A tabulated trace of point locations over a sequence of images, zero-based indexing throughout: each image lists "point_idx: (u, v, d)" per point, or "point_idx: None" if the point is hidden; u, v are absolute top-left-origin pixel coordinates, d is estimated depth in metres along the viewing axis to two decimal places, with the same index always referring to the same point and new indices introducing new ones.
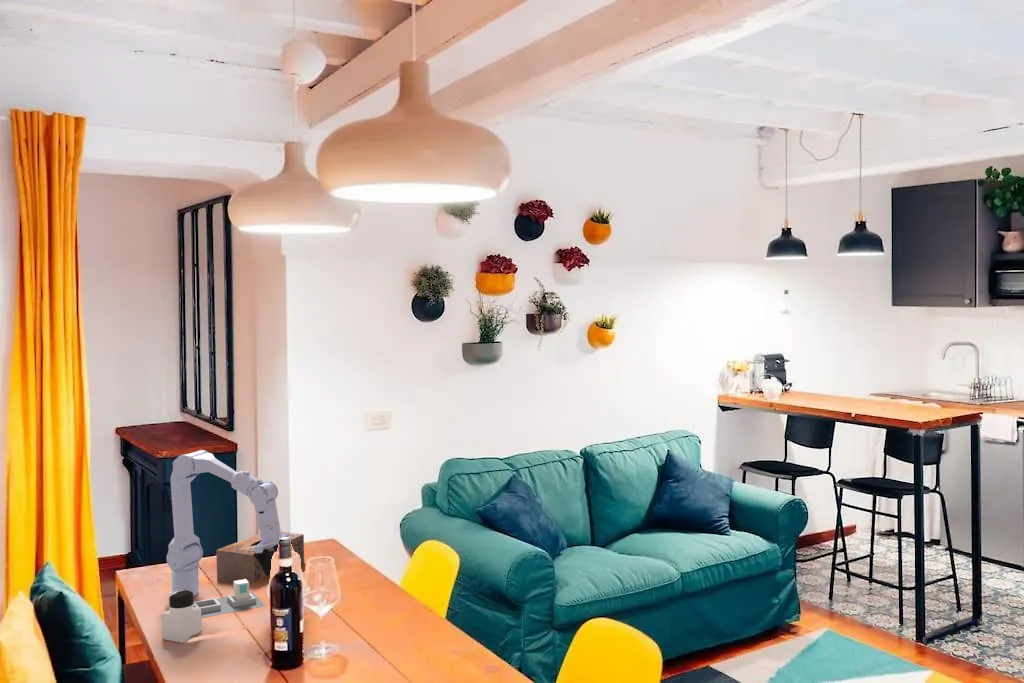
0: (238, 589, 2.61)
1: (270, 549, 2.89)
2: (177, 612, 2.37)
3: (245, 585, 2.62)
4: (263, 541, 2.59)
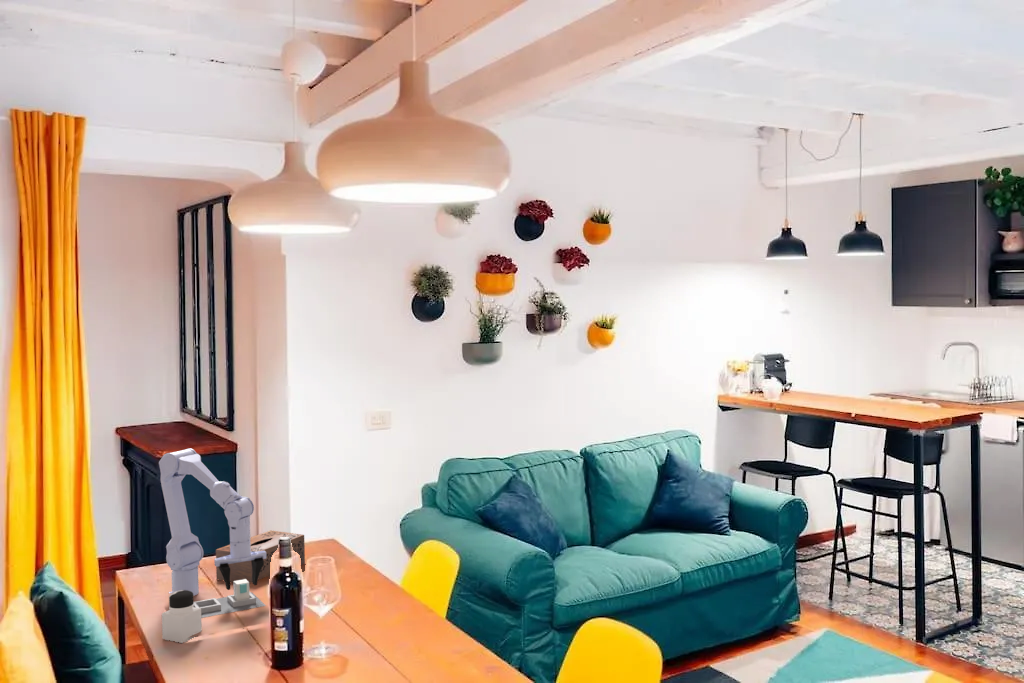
0: (238, 589, 2.61)
1: (269, 549, 2.89)
2: (177, 612, 2.37)
3: (245, 585, 2.62)
4: None
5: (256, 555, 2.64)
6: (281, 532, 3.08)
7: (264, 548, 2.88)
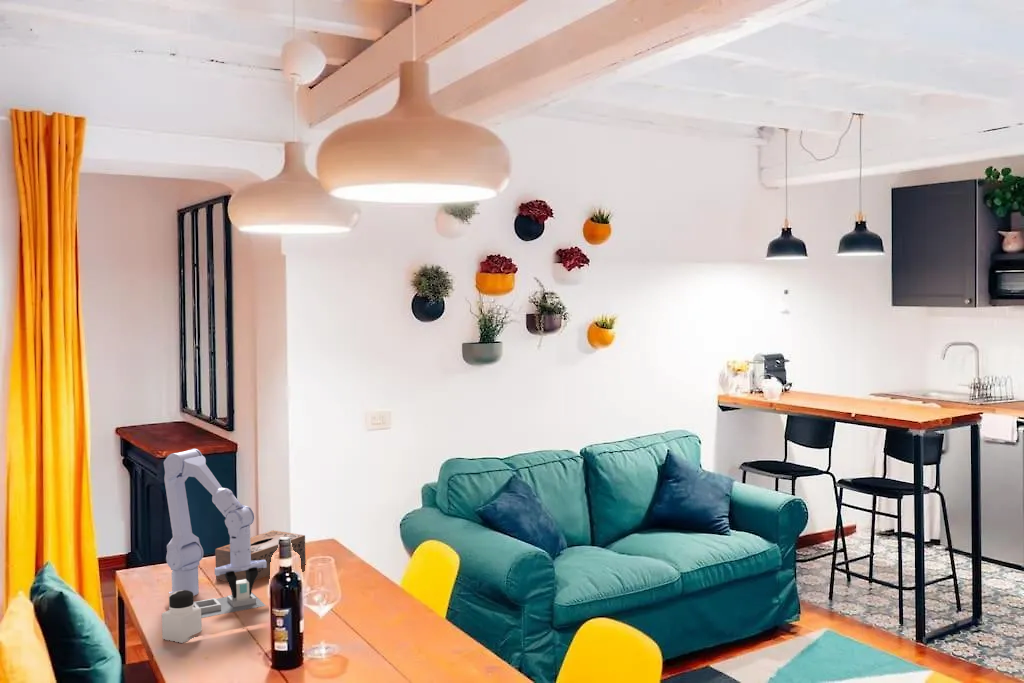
0: (238, 589, 2.61)
1: (268, 549, 2.89)
2: (177, 612, 2.37)
3: (245, 585, 2.62)
4: (230, 564, 2.63)
5: (256, 564, 2.64)
6: (282, 532, 3.08)
7: (263, 548, 2.88)
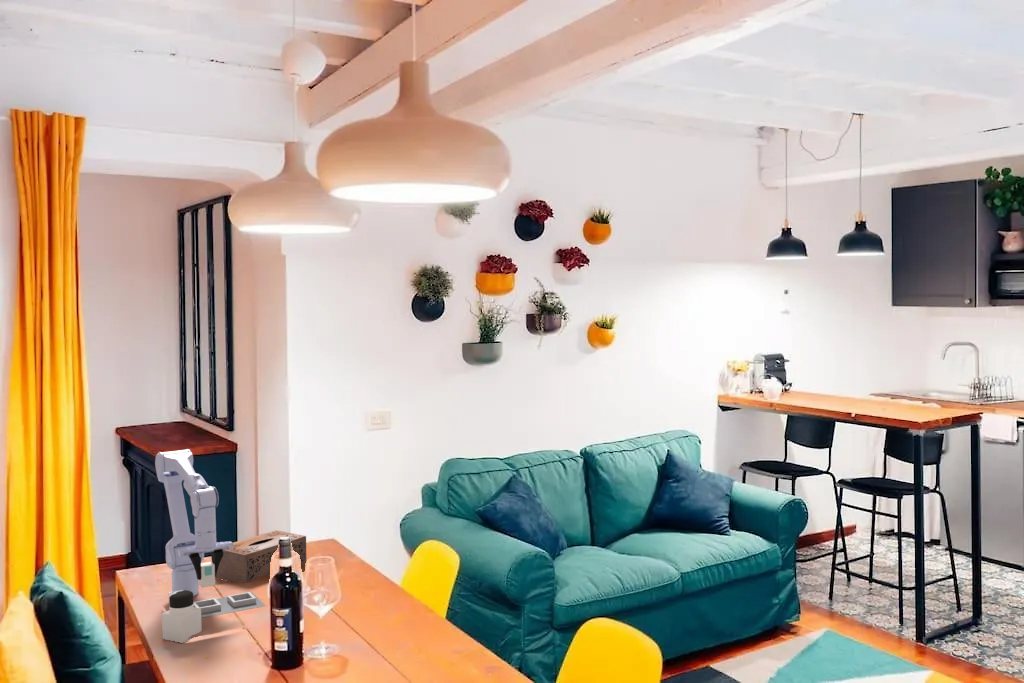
0: (203, 572, 2.56)
1: (266, 550, 2.89)
2: (177, 612, 2.37)
3: (210, 567, 2.56)
4: (195, 545, 2.57)
5: (222, 546, 2.59)
6: (285, 532, 3.07)
7: (261, 548, 2.88)
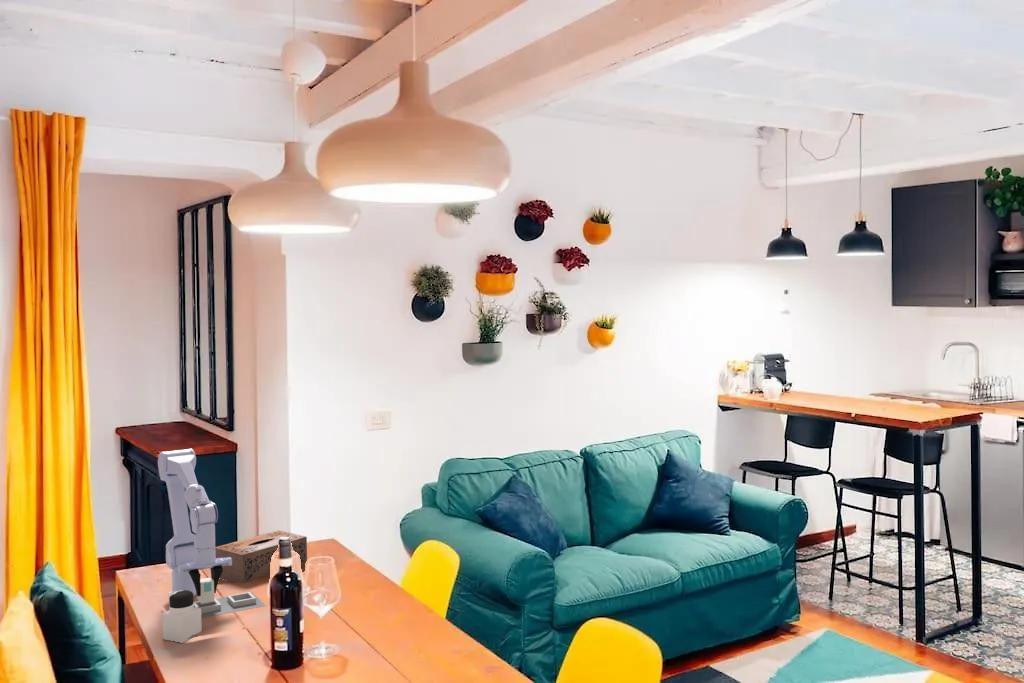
0: (202, 588, 2.56)
1: (264, 550, 2.88)
2: (177, 612, 2.37)
3: (209, 584, 2.56)
4: (194, 561, 2.57)
5: (221, 562, 2.59)
6: (286, 533, 3.07)
7: (259, 548, 2.88)
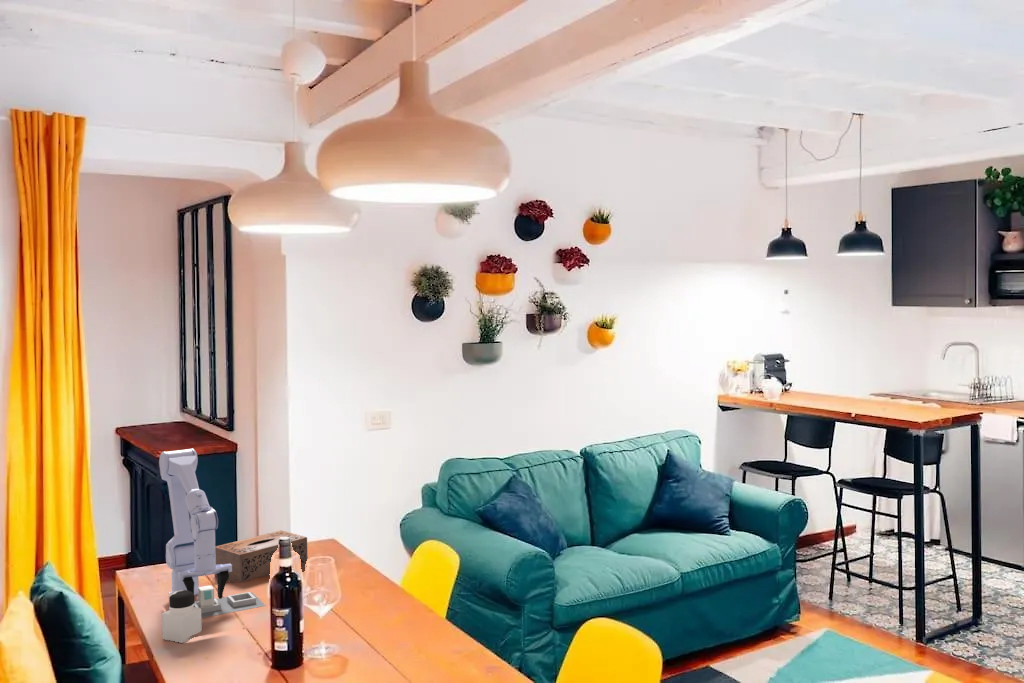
0: (202, 596, 2.56)
1: (263, 550, 2.88)
2: (177, 612, 2.37)
3: (210, 591, 2.56)
4: (194, 568, 2.57)
5: (221, 568, 2.59)
6: (288, 533, 3.07)
7: (257, 549, 2.88)
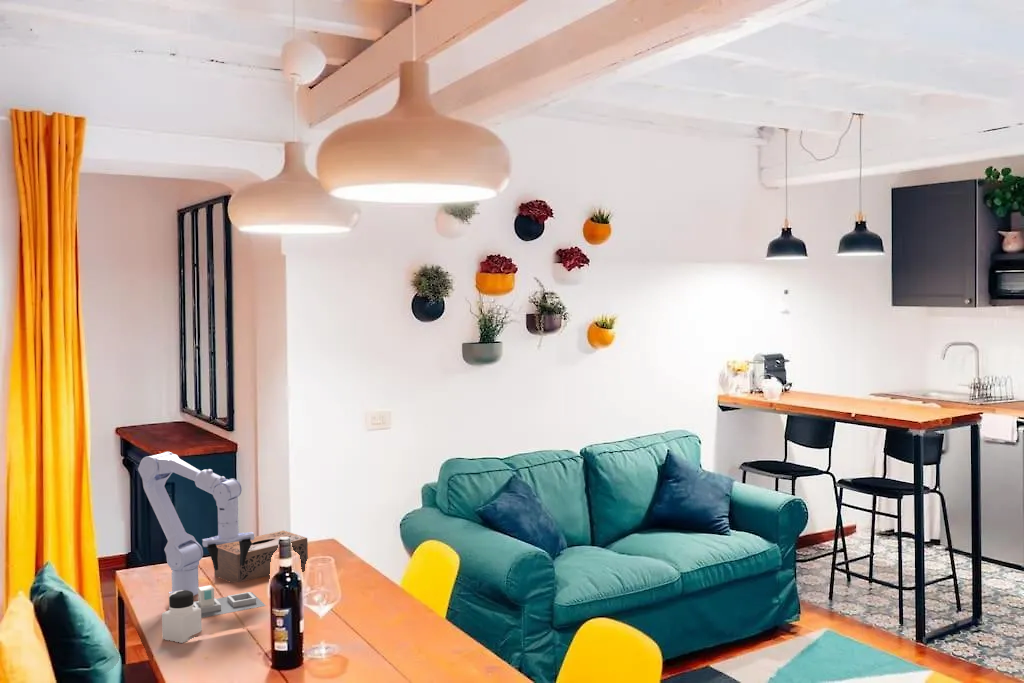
0: (202, 596, 2.56)
1: (261, 550, 2.88)
2: (177, 612, 2.37)
3: (210, 591, 2.56)
4: (218, 535, 2.65)
5: (244, 536, 2.67)
6: (290, 533, 3.06)
7: (256, 549, 2.88)
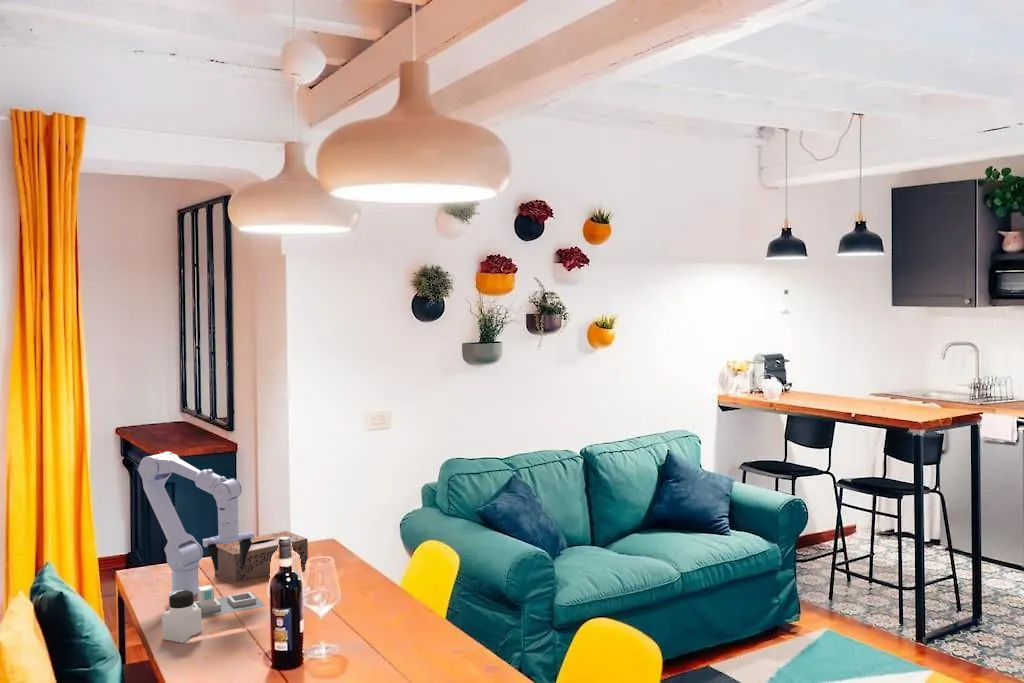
0: (202, 596, 2.56)
1: (259, 550, 2.88)
2: (177, 612, 2.37)
3: (210, 591, 2.56)
4: None
5: (244, 536, 2.67)
6: (291, 533, 3.06)
7: (254, 549, 2.88)
